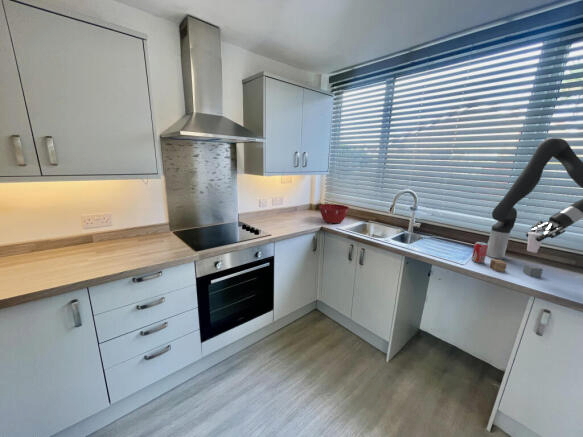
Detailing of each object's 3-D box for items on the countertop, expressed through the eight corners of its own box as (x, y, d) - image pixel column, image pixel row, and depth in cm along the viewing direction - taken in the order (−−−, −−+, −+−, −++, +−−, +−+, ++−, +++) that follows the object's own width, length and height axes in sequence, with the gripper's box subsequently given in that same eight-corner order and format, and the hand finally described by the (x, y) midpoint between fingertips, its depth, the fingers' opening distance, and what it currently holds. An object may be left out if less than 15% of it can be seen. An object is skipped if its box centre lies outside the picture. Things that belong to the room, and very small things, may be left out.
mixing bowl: (341, 227, 216) (342, 210, 212) (313, 222, 231) (314, 206, 227) (351, 221, 239) (353, 206, 236) (325, 217, 254) (326, 203, 251)
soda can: (477, 263, 145) (481, 244, 142) (468, 259, 151) (472, 241, 148) (486, 263, 145) (491, 244, 143) (478, 259, 151) (482, 241, 149)
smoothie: (531, 249, 128) (538, 223, 125) (544, 253, 122) (552, 227, 119) (520, 249, 128) (526, 223, 125) (532, 253, 122) (539, 226, 118)
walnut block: (489, 267, 141) (491, 259, 139) (499, 268, 140) (501, 260, 138) (494, 270, 136) (496, 262, 135) (504, 271, 135) (506, 263, 134)
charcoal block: (522, 272, 135) (525, 264, 134) (533, 273, 134) (535, 265, 133) (529, 276, 130) (531, 267, 129) (540, 277, 129) (542, 268, 128)
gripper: (549, 209, 125) (517, 228, 130) (574, 215, 111) (537, 237, 117) (558, 219, 125) (526, 239, 131) (584, 227, 112) (547, 248, 117)
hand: (531, 238), depth 124 cm, fingers closed on smoothie, 6 cm apart
